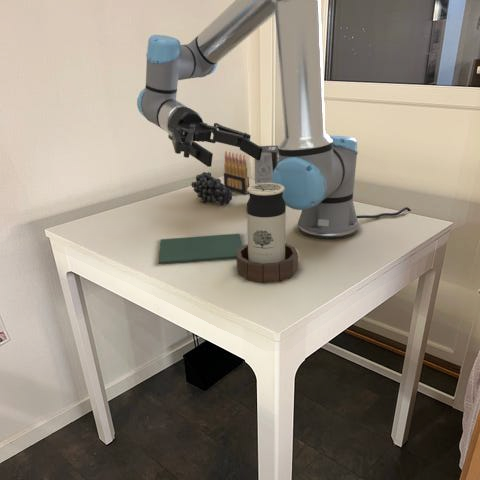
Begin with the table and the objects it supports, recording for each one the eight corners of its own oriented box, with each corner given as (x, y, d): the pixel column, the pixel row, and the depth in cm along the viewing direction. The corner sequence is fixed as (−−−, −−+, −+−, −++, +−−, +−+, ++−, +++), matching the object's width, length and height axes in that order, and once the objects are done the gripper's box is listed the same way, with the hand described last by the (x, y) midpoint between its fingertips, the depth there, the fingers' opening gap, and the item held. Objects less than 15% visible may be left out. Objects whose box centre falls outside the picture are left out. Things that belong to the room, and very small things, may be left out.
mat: (239, 235, 123) (239, 233, 123) (245, 257, 112) (245, 255, 111) (161, 241, 122) (160, 239, 122) (158, 264, 110) (158, 261, 110)
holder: (290, 255, 112) (290, 239, 110) (302, 279, 101) (302, 262, 99) (234, 259, 111) (234, 243, 109) (240, 284, 100) (239, 267, 98)
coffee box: (276, 209, 140) (276, 152, 132) (254, 208, 141) (253, 151, 133) (280, 199, 148) (280, 144, 139) (259, 199, 149) (259, 144, 141)
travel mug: (259, 259, 111) (257, 180, 101) (291, 265, 107) (292, 184, 98) (242, 272, 105) (238, 190, 95) (274, 280, 101) (274, 195, 92)
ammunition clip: (224, 188, 161) (221, 151, 155) (228, 187, 162) (226, 150, 156) (245, 194, 154) (244, 155, 148) (249, 193, 155) (248, 154, 149)
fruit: (235, 174, 140) (203, 165, 149) (215, 190, 137) (183, 179, 146) (243, 200, 146) (211, 189, 155) (224, 215, 143) (192, 203, 152)
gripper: (220, 134, 123) (275, 167, 112) (133, 142, 109) (185, 181, 97) (225, 104, 119) (282, 135, 107) (134, 107, 104) (189, 144, 93)
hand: (236, 157), depth 102 cm, fingers open, 13 cm apart
